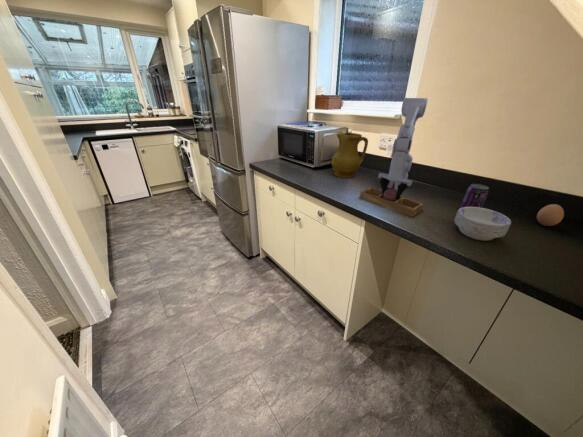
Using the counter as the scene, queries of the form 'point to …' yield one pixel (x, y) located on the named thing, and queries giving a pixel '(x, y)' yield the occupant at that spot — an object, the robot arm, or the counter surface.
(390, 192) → the vegetable
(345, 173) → the pitcher
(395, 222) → the counter surface
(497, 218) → the paper bowls
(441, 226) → the counter surface
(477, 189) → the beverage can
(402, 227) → the counter surface
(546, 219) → the egg
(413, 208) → the tray
